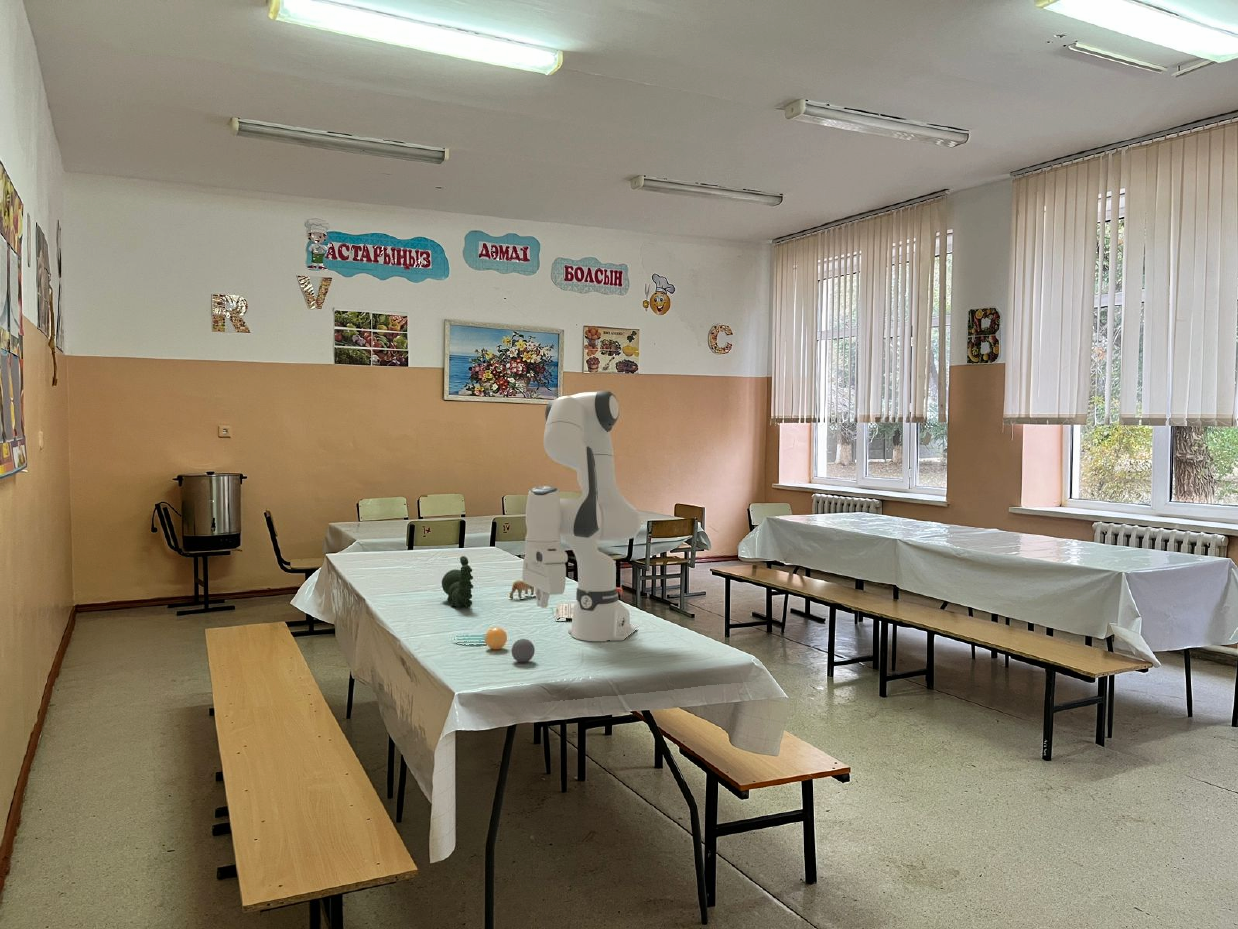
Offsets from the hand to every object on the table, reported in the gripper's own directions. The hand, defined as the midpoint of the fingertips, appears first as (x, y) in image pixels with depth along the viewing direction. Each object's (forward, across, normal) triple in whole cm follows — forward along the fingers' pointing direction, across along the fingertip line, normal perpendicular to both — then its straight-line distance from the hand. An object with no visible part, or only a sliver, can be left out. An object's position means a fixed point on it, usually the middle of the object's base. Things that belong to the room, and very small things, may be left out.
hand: (542, 606), depth 208 cm
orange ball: (+13, -25, -4) cm, 28 cm away
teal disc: (+16, -36, -6) cm, 40 cm away
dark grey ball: (+13, -10, -1) cm, 16 cm away
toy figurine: (+15, -85, +3) cm, 87 cm away
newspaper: (+16, -56, +32) cm, 67 cm away
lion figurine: (+15, -88, +28) cm, 93 cm away
